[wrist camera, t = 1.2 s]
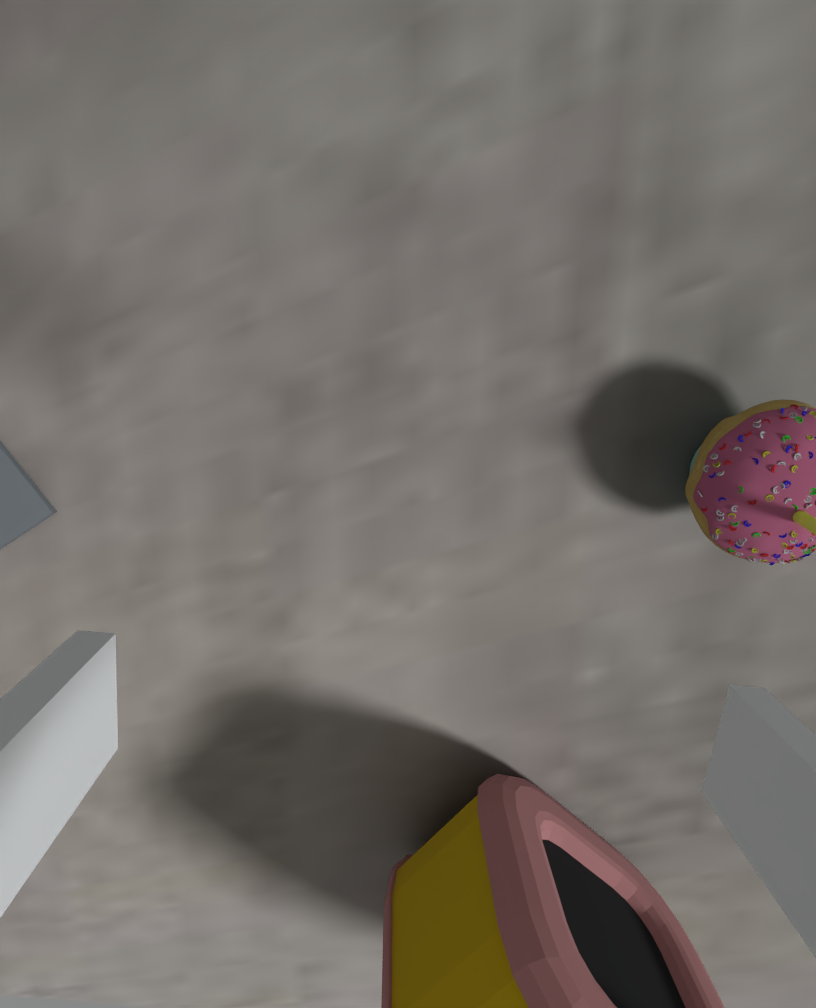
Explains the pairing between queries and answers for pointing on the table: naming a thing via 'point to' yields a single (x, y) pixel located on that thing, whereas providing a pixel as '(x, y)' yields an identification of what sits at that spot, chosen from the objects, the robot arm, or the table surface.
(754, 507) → the cupcake
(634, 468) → the table surface
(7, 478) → the mat
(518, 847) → the alarm clock
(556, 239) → the table surface
